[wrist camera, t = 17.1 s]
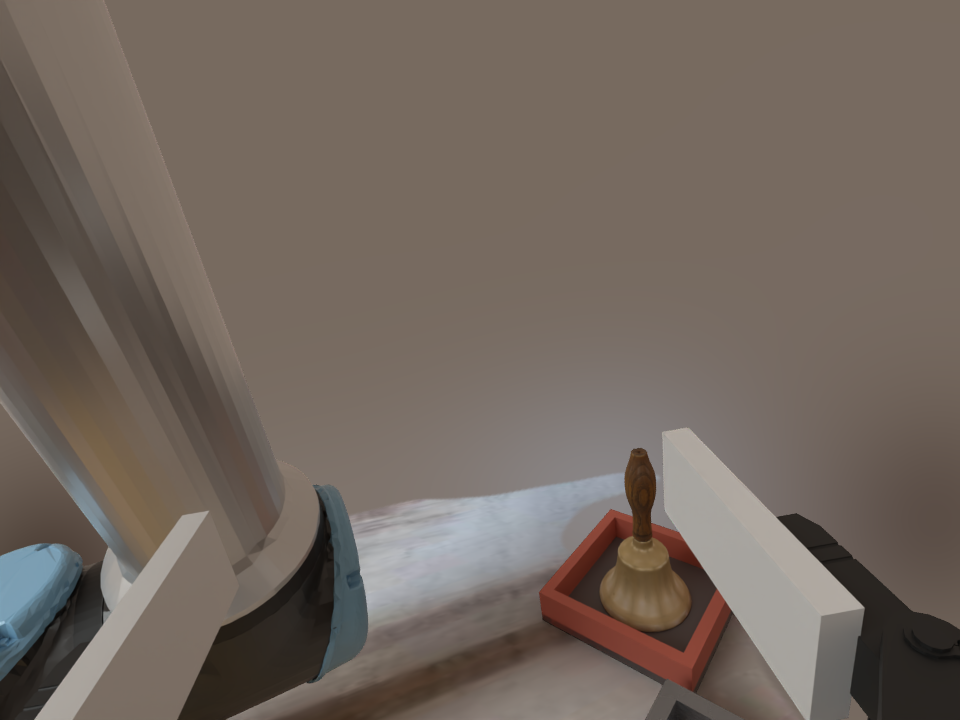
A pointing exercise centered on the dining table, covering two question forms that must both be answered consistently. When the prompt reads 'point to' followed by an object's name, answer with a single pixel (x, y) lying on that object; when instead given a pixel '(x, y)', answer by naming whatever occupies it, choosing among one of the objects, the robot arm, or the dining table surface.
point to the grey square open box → (685, 706)
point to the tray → (653, 654)
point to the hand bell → (644, 564)
